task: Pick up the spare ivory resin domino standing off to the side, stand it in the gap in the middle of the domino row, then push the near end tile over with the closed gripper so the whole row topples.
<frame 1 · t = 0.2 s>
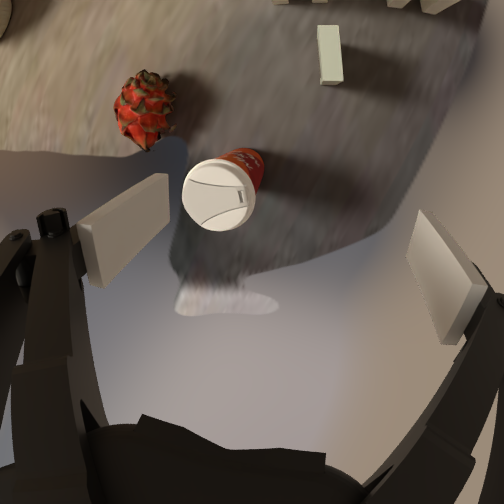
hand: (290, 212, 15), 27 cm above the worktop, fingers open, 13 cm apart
paper cup: (244, 166, 42), on the worktop
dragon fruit: (158, 108, 40), on the worktop
canister: (0, 20, 32), on the worktop
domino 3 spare: (326, 63, 32), on the worktop
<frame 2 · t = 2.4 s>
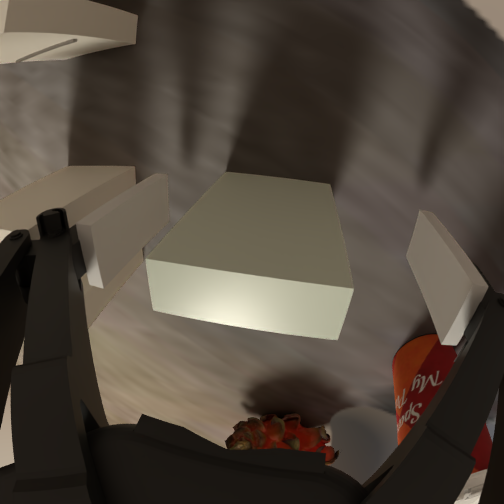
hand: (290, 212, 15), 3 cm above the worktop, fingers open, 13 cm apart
domino 2: (101, 178, 19), on the worktop, touching gripper
domino 1: (108, 243, 21), on the worktop
domino 4: (97, 37, 14), on the worktop
paper cup: (421, 355, 22), on the worktop
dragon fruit: (287, 419, 29), on the worktop
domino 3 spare: (275, 193, 17), on the worktop
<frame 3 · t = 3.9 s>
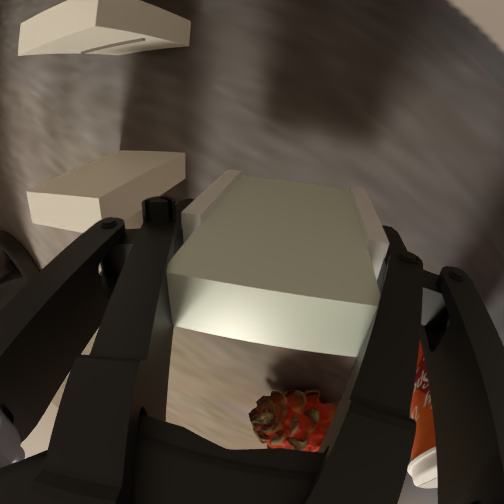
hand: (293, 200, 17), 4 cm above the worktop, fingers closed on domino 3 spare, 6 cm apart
domino 2: (150, 163, 22), on the worktop
domino 4: (152, 37, 17), on the worktop
paper cup: (432, 334, 24), on the worktop
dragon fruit: (307, 396, 32), on the worktop
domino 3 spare: (293, 198, 17), point 4 cm above the worktop, touching gripper
when the fingers open (0 cm above the worktop, at t = 8.2 s): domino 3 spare stays where it is, on the worktop.
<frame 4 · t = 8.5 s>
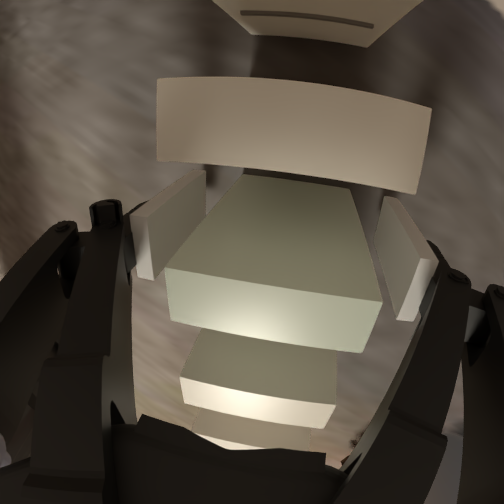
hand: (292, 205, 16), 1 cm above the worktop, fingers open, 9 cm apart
domino 2: (283, 272, 19), on the worktop
domino 5: (310, 22, 12), on the worktop
domino 1: (275, 328, 22), on the worktop
domino 4: (303, 109, 14), on the worktop
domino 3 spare: (294, 197, 17), on the worktop
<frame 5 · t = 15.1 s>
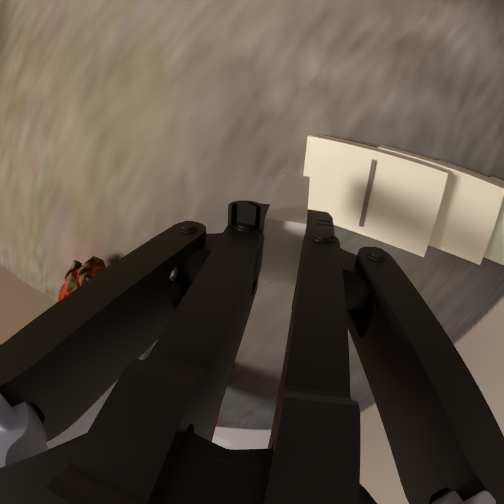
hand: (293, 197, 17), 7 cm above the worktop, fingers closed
domino 2: (373, 183, 22), point 1 cm above the worktop, tilted 67°, touching domino 1, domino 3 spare
domino 1: (309, 173, 22), point 1 cm above the worktop, tilted 66°, touching domino 2
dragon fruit: (112, 286, 34), on the worktop
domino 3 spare: (429, 195, 21), point 1 cm above the worktop, tilted 68°, touching domino 2, domino 4
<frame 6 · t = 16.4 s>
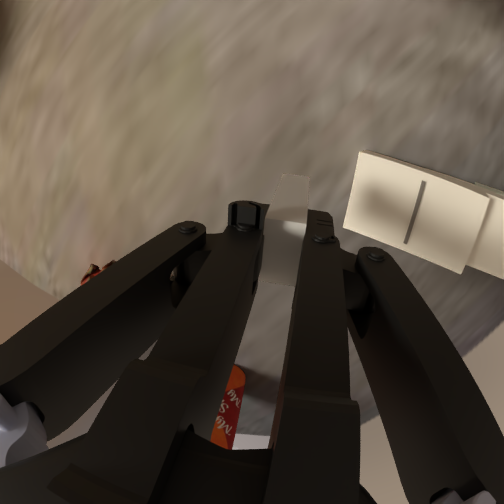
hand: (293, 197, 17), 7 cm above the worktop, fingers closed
domino 2: (417, 205, 22), point 1 cm above the worktop, tilted 67°, touching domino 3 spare
domino 1: (355, 188, 22), point 1 cm above the worktop, tilted 66°
paper cup: (224, 373, 37), on the worktop
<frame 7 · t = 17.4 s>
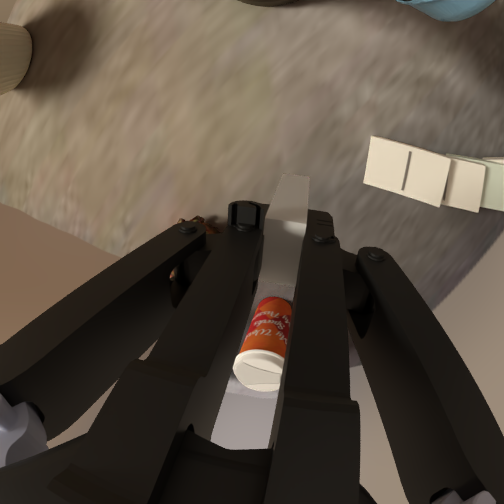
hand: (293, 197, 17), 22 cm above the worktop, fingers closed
domino 2: (409, 172, 34), point 1 cm above the worktop, tilted 68°, touching domino 1, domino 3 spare
domino 1: (369, 158, 34), point 1 cm above the worktop, tilted 67°, touching domino 2
domino 4: (485, 180, 31), point 1 cm above the worktop, tilted 70°, touching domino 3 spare, domino 5
paper cup: (274, 309, 49), on the worktop
canister: (17, 58, 35), on the worktop
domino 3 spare: (445, 176, 33), point 1 cm above the worktop, tilted 69°, touching domino 2, domino 4
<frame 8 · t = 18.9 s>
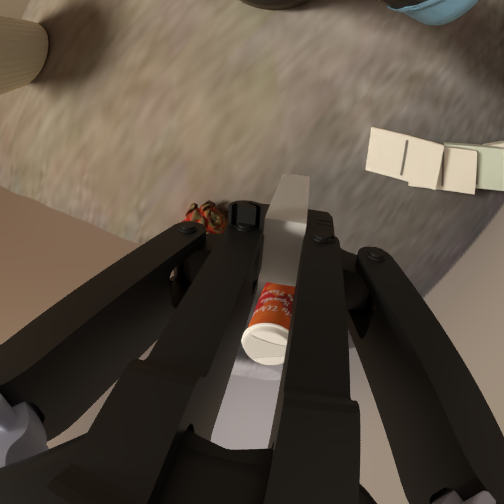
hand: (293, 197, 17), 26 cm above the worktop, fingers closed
domino 2: (409, 163, 37), point 1 cm above the worktop, tilted 68°, touching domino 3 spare
domino 1: (370, 148, 38), point 1 cm above the worktop, tilted 67°
domino 4: (488, 164, 33), point 2 cm above the worktop, tilted 77°, touching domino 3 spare, domino 5
paper cup: (279, 290, 53), on the worktop
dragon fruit: (212, 227, 49), on the worktop
canister: (33, 53, 38), on the worktop
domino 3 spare: (444, 163, 36), point 1 cm above the worktop, tilted 67°, touching domino 2, domino 4
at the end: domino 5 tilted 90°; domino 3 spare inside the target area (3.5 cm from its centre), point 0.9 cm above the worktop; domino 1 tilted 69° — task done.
